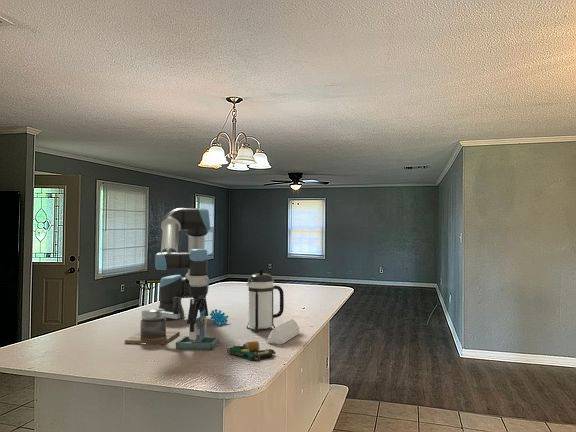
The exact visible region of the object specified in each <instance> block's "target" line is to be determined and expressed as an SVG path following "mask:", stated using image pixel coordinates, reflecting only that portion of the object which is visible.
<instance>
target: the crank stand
mask: <svg viewBox="0 0 576 432" xmlns="http://www.w3.org/2000/svg"><path fill="white" fill-rule="evenodd" d="M179 335H181V332H180V330H175V331H174V330H167V320H166V319H164V320H161V321H155V322H145V321H142V319H140V331H139V332H137V333H135V334H133V335H131V336H130V337H128V338H126V339H124V344H125V343H146V344H145V345H154V344H165V345H166V344H168V343H169V342H171V341H173V340H174V339H175V338H177V337H178V336H179ZM170 340H171V341H170ZM167 342H168V343H167Z"/></svg>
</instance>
